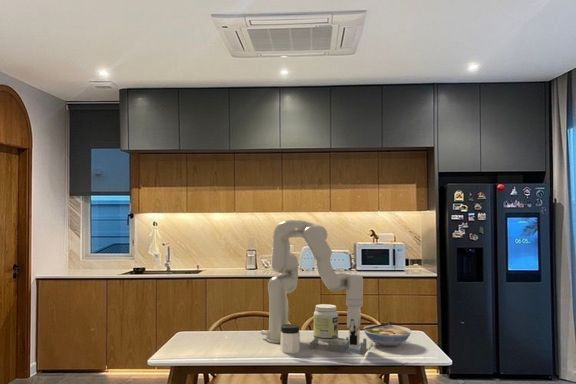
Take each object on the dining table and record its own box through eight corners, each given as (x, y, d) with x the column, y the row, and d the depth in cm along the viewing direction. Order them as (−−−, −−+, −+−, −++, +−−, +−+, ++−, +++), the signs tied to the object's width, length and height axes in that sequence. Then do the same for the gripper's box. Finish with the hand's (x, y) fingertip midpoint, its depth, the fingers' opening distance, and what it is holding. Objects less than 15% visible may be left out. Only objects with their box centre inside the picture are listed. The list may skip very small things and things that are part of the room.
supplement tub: (337, 344, 241) (337, 308, 242) (311, 342, 243) (312, 307, 244) (338, 338, 253) (339, 304, 254) (314, 336, 255) (315, 303, 256)
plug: (349, 347, 225) (349, 329, 225) (350, 345, 229) (350, 327, 229) (358, 348, 224) (358, 330, 224) (359, 346, 228) (359, 328, 228)
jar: (277, 354, 222) (277, 326, 222) (283, 349, 229) (283, 323, 230) (296, 356, 219) (297, 328, 220) (301, 351, 227) (302, 324, 227)
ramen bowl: (389, 354, 223) (389, 336, 224) (351, 344, 241) (351, 327, 241) (423, 346, 239) (422, 328, 240) (385, 336, 257) (385, 320, 257)
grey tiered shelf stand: (310, 351, 227) (310, 339, 227) (315, 346, 237) (315, 334, 237) (363, 356, 220) (363, 343, 220) (366, 350, 230) (366, 338, 230)
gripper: (349, 299, 236) (349, 338, 235) (342, 305, 220) (342, 347, 220) (365, 300, 234) (365, 339, 233) (359, 306, 218) (359, 348, 217)
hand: (354, 342), depth 226 cm, fingers closed on plug, 3 cm apart
